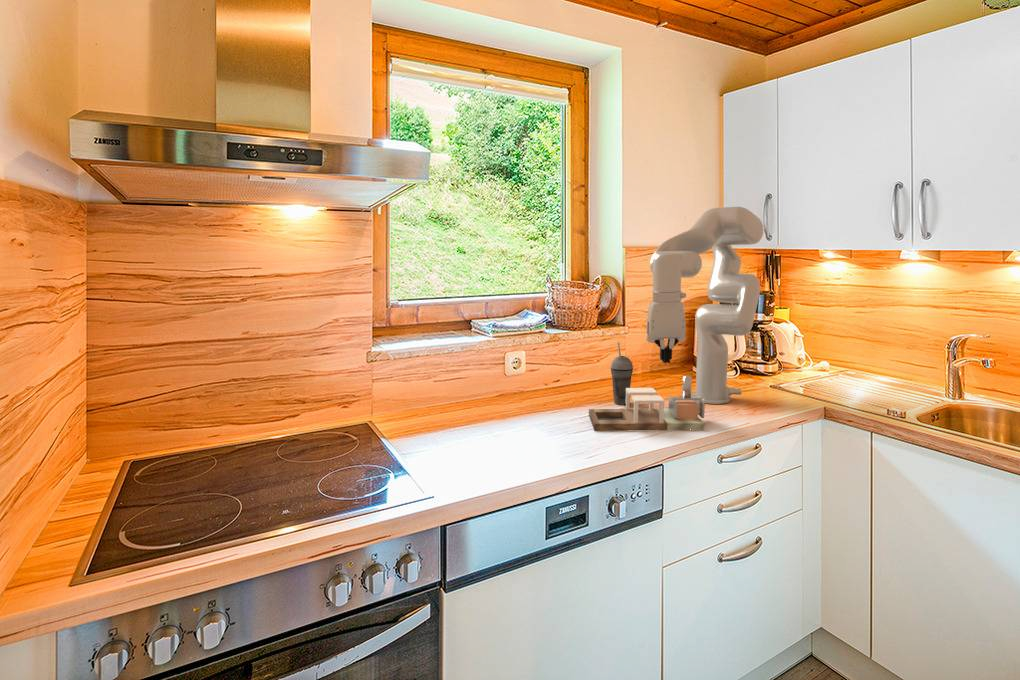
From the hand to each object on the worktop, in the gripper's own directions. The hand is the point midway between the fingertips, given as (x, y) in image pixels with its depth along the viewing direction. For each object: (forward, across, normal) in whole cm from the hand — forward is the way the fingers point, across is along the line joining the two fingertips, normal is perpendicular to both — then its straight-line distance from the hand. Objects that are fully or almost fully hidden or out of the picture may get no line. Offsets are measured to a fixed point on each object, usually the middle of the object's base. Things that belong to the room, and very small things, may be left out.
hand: (665, 361), depth 158 cm
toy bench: (+15, +6, +1) cm, 17 cm away
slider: (+16, -6, +1) cm, 17 cm away
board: (+18, +6, +1) cm, 19 cm away
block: (+16, -5, +1) cm, 17 cm away
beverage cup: (+18, +9, -20) cm, 29 cm away
